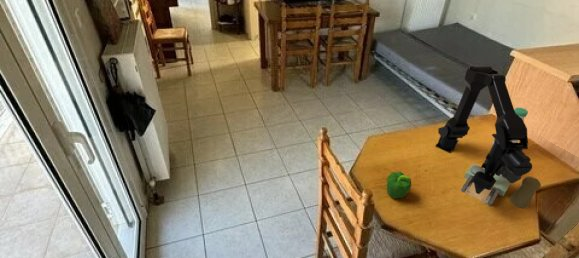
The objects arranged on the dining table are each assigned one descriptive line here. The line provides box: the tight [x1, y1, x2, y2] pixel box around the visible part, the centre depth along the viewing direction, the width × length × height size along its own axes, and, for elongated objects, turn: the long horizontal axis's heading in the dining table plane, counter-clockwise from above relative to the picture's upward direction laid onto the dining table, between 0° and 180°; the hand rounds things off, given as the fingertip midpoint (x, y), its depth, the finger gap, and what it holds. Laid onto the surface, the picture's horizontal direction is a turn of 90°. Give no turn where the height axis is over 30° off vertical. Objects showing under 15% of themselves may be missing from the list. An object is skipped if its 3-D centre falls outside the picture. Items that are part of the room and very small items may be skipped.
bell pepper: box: [386, 171, 412, 199], centre depth 114 cm, size 8×8×10 cm
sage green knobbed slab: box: [463, 163, 512, 197], centre depth 120 cm, size 14×7×4 cm, turn 46°
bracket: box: [460, 175, 500, 207], centre depth 116 cm, size 10×8×2 cm
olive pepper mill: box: [509, 176, 542, 209], centre depth 110 cm, size 6×6×11 cm
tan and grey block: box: [468, 183, 495, 200], centre depth 115 cm, size 6×4×6 cm
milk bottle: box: [491, 106, 529, 147], centre depth 131 cm, size 8×8×20 cm
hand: (482, 186), depth 115 cm, fingers open, 9 cm apart
